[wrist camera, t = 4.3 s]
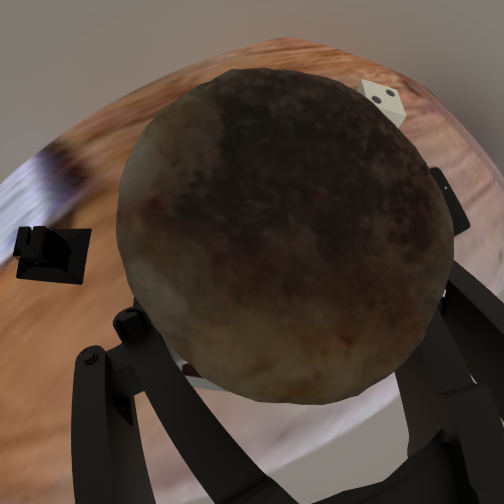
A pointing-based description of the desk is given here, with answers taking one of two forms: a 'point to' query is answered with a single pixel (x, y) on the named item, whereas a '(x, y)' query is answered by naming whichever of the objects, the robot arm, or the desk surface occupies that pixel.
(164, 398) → the robot arm
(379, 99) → the die
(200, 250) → the candle
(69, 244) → the black chunky piece
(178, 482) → the desk surface
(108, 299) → the desk surface
